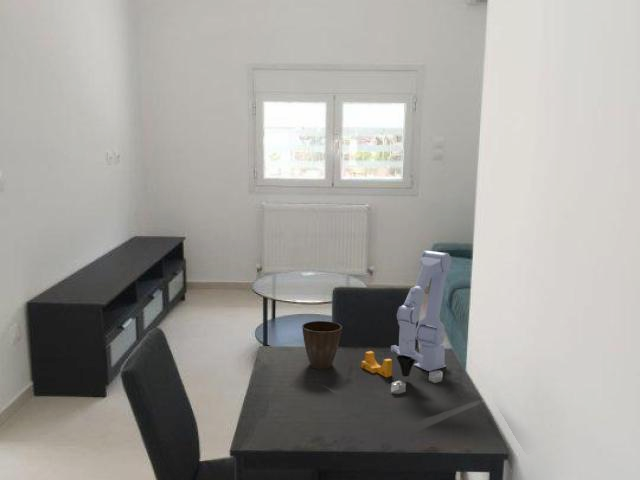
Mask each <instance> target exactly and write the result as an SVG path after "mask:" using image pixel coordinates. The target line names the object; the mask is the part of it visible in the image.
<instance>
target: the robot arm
mask: <svg viewBox="0 0 640 480" xmlns="http://www.w3.org/2000/svg"><path fill="white" fill-rule="evenodd" d="M420 266H421V268H420V271H419V275H418V276H417V279H416V283H415V286H413V287H411V288H410V289H409V291H408V293H407V296H406V299H405V301H404V303H403V304H402V305H401V306H399V307H398V308H397V313H396V320H397V324H398V326H399V333H398V335H399V336H398V345H396V344H394V345H391V346H390V351H391V352H392V353H393V352H394V353H396V354H397V356H396V360H397V361H398V363H399V366H400V370H401V374H402V376H403V377H405V378H406V377H409V376H410V374H411V370H412V367H413V366H415V367H418V368H420V369H423V370H425V371H428V372H432V371H436V370H438V369H439V370H440V369H441V368H446V364H445V359H446V357H445V355H446V349H445V346H444V344H443V343H444V341H445V336H446V335H445V329H446V327H445V325H444V323H443V322H442V321H441V320H440V316H441V315H440V314H441V309H442V308H441V307H442V303H443V296H444V291H445V290H444V289H445V285H446V284H445V283H446V278H447V277H448V275H450V272H451V267H452V258H451V255H450V253H448V252H440V251H433V250H426V249H425V250H424V251H423V252H422V254H421V255H420ZM429 283H430V287H429V293H428V301H427V305H426V311H425V317H424V318H422V319H420V316H421V311H422V309H421V306H422V303H423V302H424V300H425V297H426V292H425V290H426V288H427V287H428V284H429ZM417 323H418V324H417ZM416 340H417V343H418V344H419V352H417V351H416ZM416 361H417V363H415V362H416Z"/></svg>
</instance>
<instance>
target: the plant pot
mask: <svg viewBox="0 0 640 480" xmlns="http://www.w3.org/2000/svg"><path fill="white" fill-rule="evenodd" d="M342 328H343V326H342V325H341V324H340V323H336V322H333V321H325V320H315V321H307V322H305V323H303V324H302V326H301V329H302V336H303V342H304V347H305V353H306V354H307V355H306V356H307V359H308V362H309V365H310V366H311V367H312V368H313V369H315V370H327V369H329V368H331V367H332V365H333V362H334V360H335V356H336V354H337V352H338V348H339V344H340V339H341V334H342Z"/></svg>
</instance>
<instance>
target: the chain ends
mask: <svg viewBox="0 0 640 480" xmlns="http://www.w3.org/2000/svg"><path fill="white" fill-rule="evenodd" d="M428 381H429V382H431V383H434V384H436V383H439V382H443V371H442V370H438V369H436V370H432V371H428ZM406 385H407V384H406V382H404V381H402V380H397V381H393V382H391V385H390V387H391V388H390V392H391V394H394V395H400V394H402V393H403V394H404V393H405V392H406V389H407V388H406V387H407V386H406Z"/></svg>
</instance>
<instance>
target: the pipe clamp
mask: <svg viewBox="0 0 640 480" xmlns="http://www.w3.org/2000/svg"><path fill="white" fill-rule="evenodd" d="M361 368H362V369H364V370H366V371H368V372H369V373H371V374H375V373H377V374H378V375H381V376H383V377H384V378H389V377H391V376H393V359H391V358H385V359H383V362H382V365H380V364H379V363H378V362H377V360H376V358H375V352H374V351H373V350H372V351H371V350H369V351H365V356H364V360H361Z"/></svg>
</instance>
